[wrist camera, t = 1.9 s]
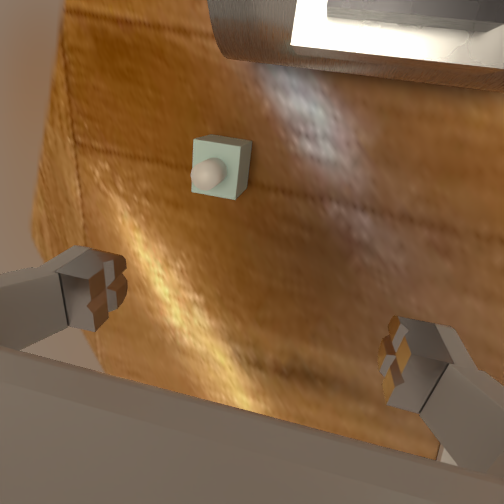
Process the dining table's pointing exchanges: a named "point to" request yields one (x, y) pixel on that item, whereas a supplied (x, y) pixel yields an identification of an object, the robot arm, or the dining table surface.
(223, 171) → the block
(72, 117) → the dining table surface
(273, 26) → the motor
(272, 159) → the dining table surface
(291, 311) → the dining table surface
